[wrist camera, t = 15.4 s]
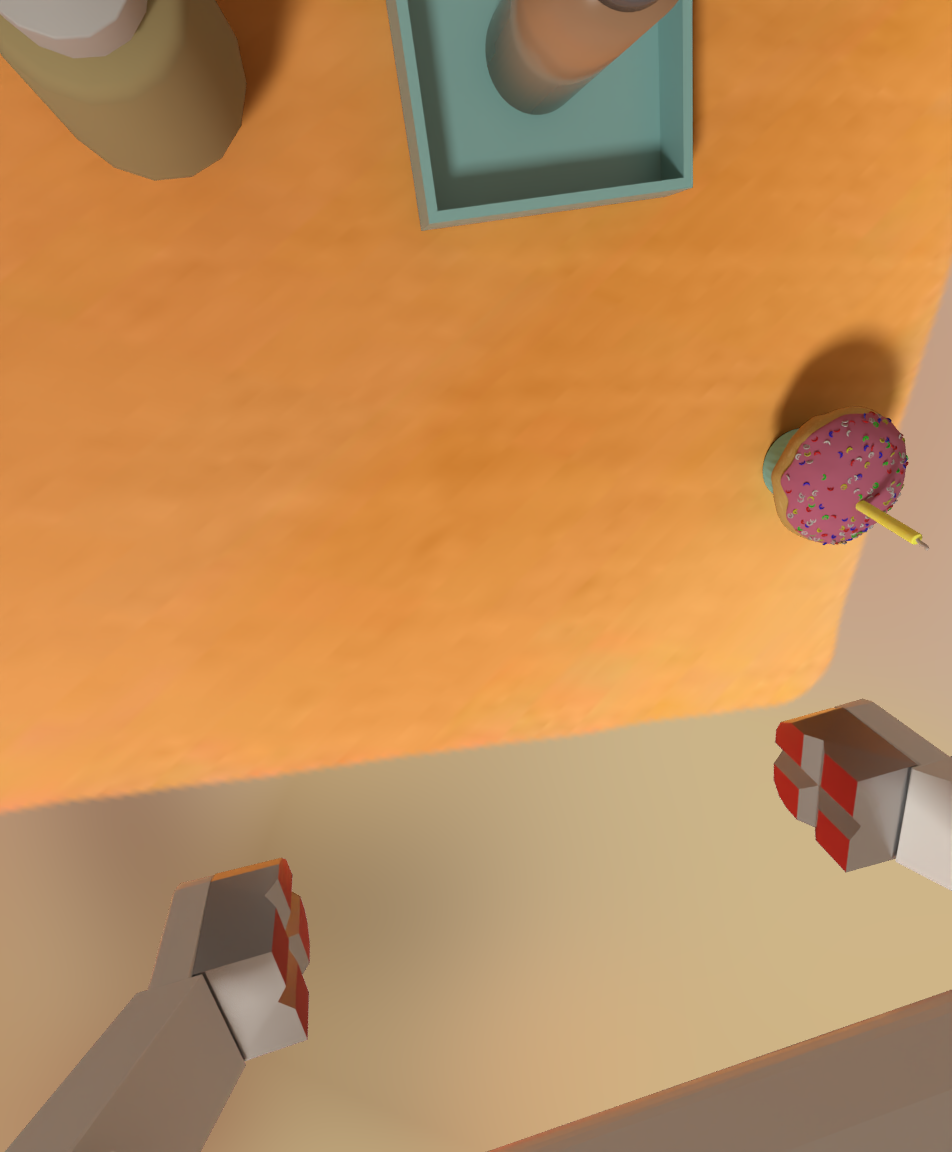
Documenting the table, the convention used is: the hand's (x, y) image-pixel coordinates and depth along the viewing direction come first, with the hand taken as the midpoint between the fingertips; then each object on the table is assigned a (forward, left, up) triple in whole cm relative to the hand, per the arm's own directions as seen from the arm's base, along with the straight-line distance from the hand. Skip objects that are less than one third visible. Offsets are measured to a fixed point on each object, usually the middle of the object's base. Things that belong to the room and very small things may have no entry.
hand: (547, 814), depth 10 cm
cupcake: (+27, -6, -31) cm, 42 cm away
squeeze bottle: (-7, +18, -31) cm, 37 cm away
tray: (+11, +18, -31) cm, 37 cm away
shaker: (+11, +18, -30) cm, 37 cm away
